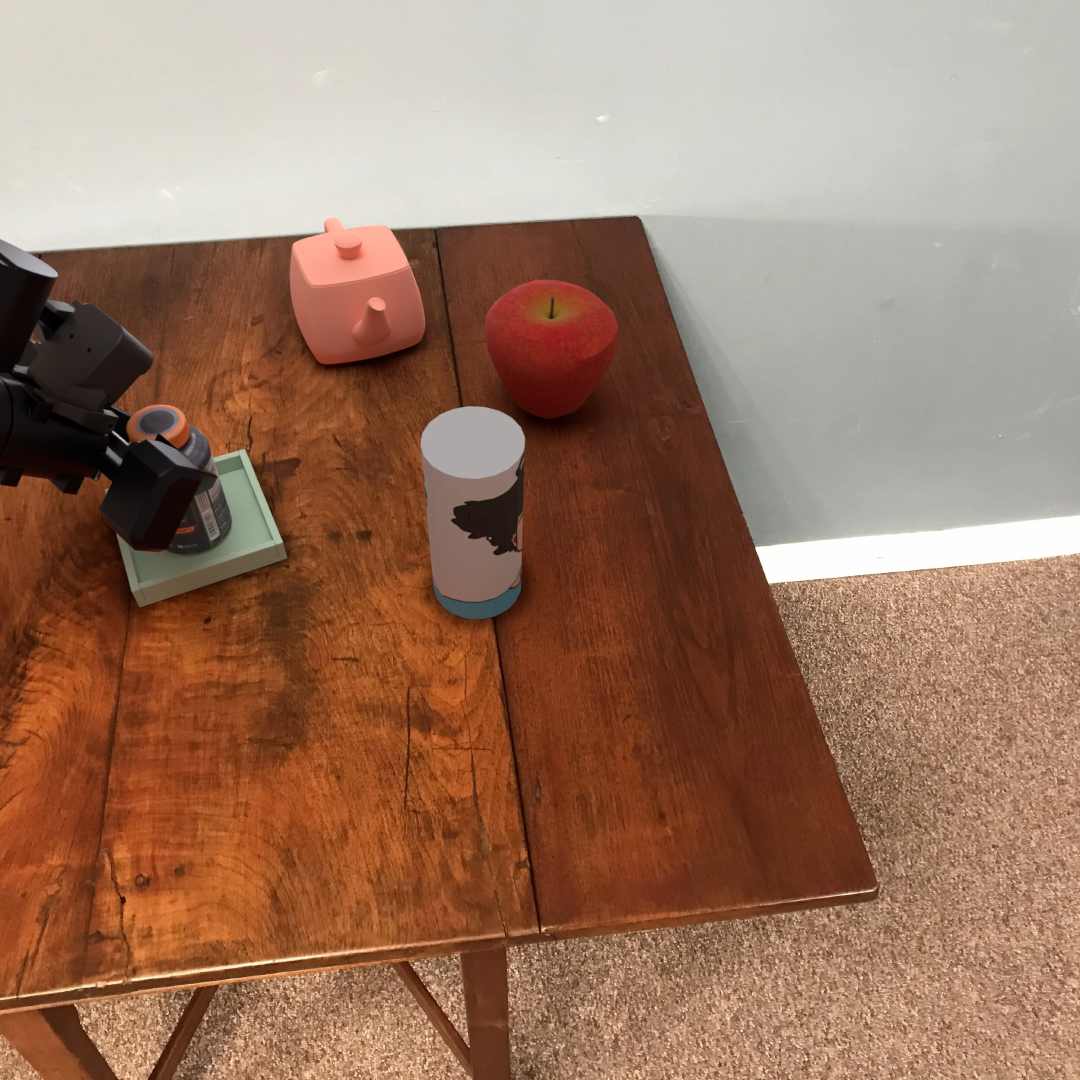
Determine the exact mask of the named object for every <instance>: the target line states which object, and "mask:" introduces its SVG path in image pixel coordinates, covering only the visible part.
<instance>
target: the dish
mask: <svg viewBox="0 0 1080 1080" xmlns="http://www.w3.org/2000/svg"><path fill="white" fill-rule="evenodd" d="M213 459H214V462H215V465H216V468H217V472H218V475H219V478H220V482H221V485H222V488H223V491H224V494H225V497H226V500H227V504H228V507H229V510H230V513H231V517H232V523H231V528H230V530H229V532H228V534H227V535H226V537H225V538H224V539H223V540H222V541H221V542H220V543H219V544H218V545H216V546H215V547H213V548H211V549H209V550H207V551H204V552H201V553H197V554H189V555H183V554H176V553H172V552H169V551H167V550H164V551H161V552H148V551H135V550H134V549H133V548H132V547H131V546H129V545H128V544H127V543H126V542H125V541H124V540H123V539H122V538H121V537H120V536H119V535H118V534H117V533H116V532H115V534H116V539H117V542H118V546H119V550H120V553H121V558H122V562H123V566H124V569H125V572H126V576H127V580H128V583H129V587H130V592H131V593H132V595H133V597H134V599H135V601H136V603H137V605H138V607H139V608H143V607H145V606H148V605H152V604H154V603H158V602H160V601H163V600H164V601H165V600H168V599H169V598H172V597H176V596H179V595H182V594H185V593H188V592H191V591H194V590H197V589H200V588H203V587H206V586H209V585H212V584H215V583H219V582H221V581H224V580H227V579H230V578H233V577H236V576H239V575H243V574H246V573H248V572H251V571H254V570H258V569H261V568H263V567H266V566H268V565H269V566H270V565H272V564H276V563H279V562H282V561H285V560H287V559H288V556H287V551H286V547H285V544H284V541H283V539H282V536H281V534H280V531H279V529H278V526H277V524H276V522H275V519H274V517H273V514H272V511H271V509H270V507H269V505H268V502H267V500H266V497H265V495H264V492H263V490H262V487H261V485H260V482H259V480H258V478H257V475H256V472H255V470H254V467H253V465H252V463H251V461H250V457H249V455H248V453H247V451H246V448H243V449H239V450H236V451H232V452H229V453H225V454H222V455H217V456H215V457H214V456H213ZM108 489H109V488H105V489H104V493H105V495H106V494H107V492H108Z"/></svg>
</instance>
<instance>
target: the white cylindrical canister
mask: <svg viewBox="0 0 1080 1080" xmlns="http://www.w3.org/2000/svg"><path fill="white" fill-rule="evenodd" d="M525 449H526V437H525V435H524V432H523V430H522V427H521V426H520V425H519V424H518V422H517V421H516V420H515V419H514V418H513V417H511V416H510V415H508V414H506V413H505V412H502V411H501V410H497V409H494V408H489V407H486V406H471V405H469V406H468V405H467V406H462V407H457V408H453V409H449V410H448V411H445V412H443V413H441V414H439V415H438V416H436V417H435V418H434V419H432V420H431V421H429V422H428V424H427V425H426V427H425V428H424V430H423V431H422V433H421V439H420V455H421V466H422V476H423V487H424V488H423V489H424V498H425V509H426V521H427V531H428V544H429V554H430V564H431V576H432V586H433V587H432V588H433V590H434V594H435V597H436V600H437V601H438V603H440V605H441V606H442V607H443V608H444V610H446V611H448V612H449V613H451V614H452V615H453V616H457V617H461V618H464V619H467V620H485V619H489V618H495V617H496V616H498V615H501V614H503V613H504V612H507V611H508V609H510V608H511V607H512V606H513V605H514V604H515V603H516V602H517V600H518V598H519V596H520V593H521V592H522V591H521V590H522V571H523V570H522V569H523V567H522V565H523V532H524V531H523V529H524V528H523V527H524V526H523V525H524V489H525V453H526V451H525Z"/></svg>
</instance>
